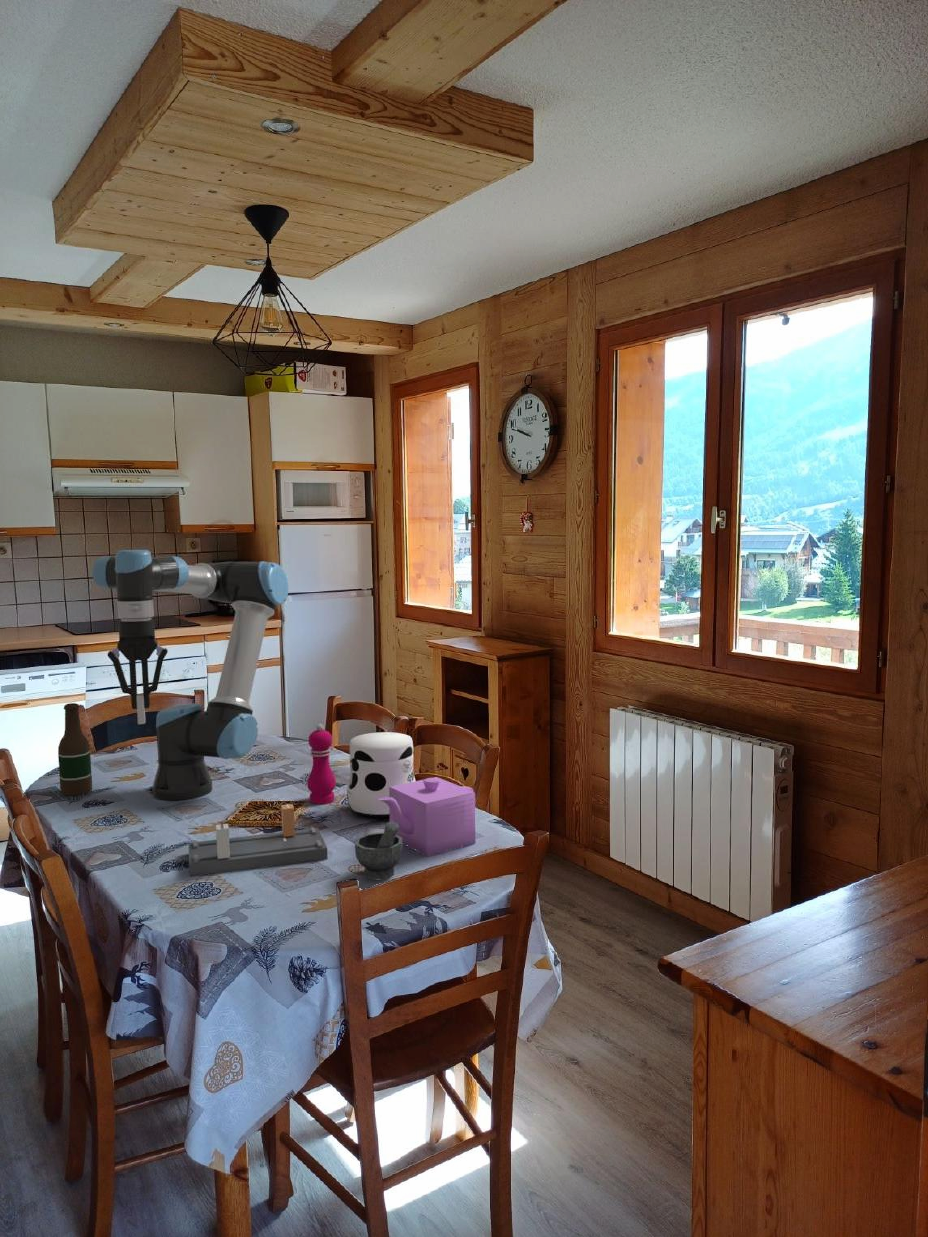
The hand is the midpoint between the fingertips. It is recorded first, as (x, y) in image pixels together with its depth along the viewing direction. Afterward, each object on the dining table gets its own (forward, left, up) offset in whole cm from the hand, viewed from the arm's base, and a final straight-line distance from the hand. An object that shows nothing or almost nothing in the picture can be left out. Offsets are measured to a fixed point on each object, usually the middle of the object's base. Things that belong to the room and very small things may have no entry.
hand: (141, 722), depth 201 cm
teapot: (+25, +60, -27) cm, 70 cm away
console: (+22, +23, -26) cm, 41 cm away
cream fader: (+26, +16, -24) cm, 39 cm away
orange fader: (+18, +30, -24) cm, 42 cm away
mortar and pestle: (+40, +46, -27) cm, 66 cm away
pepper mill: (-12, +42, -27) cm, 51 cm away
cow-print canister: (+1, +55, -27) cm, 61 cm away
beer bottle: (-41, -19, -27) cm, 53 cm away
